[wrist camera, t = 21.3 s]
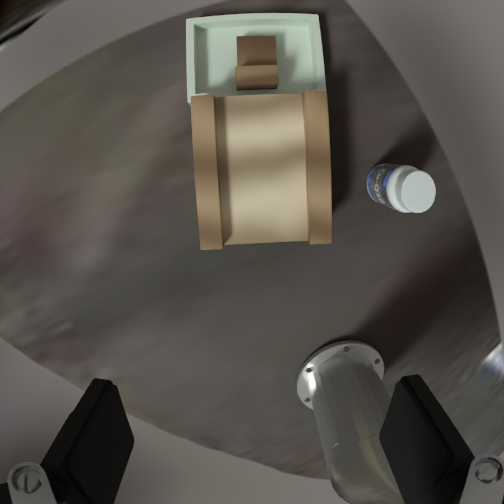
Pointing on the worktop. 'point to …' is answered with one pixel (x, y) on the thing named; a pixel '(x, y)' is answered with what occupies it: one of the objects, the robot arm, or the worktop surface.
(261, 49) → the walnut chip
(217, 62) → the tray
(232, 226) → the slot block
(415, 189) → the pill bottle
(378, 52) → the worktop surface
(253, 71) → the walnut chip
